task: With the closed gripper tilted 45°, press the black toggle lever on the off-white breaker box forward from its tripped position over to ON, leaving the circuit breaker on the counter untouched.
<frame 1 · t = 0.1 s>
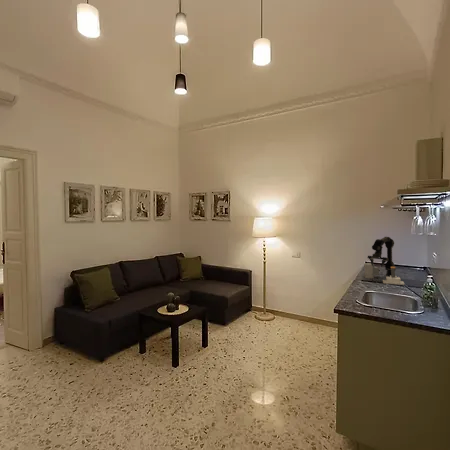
hand: (376, 266, 296), 15 cm above the worktop, tool pointing down, fingers open, 9 cm apart
lever: (393, 271, 291), point 11 cm above the worktop, hinge at -28.0°
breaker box: (393, 282, 289), on the worktop
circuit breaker: (372, 277, 313), on the worktop
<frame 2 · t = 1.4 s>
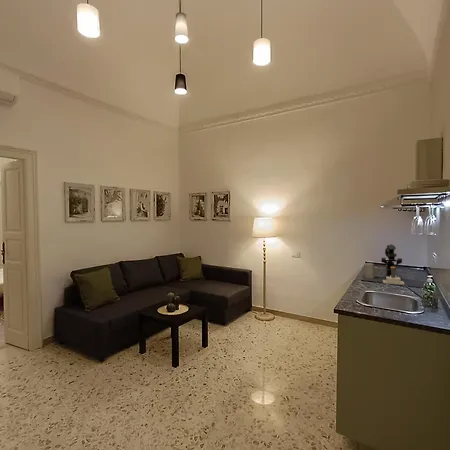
hand: (391, 267, 301), 13 cm above the worktop, tool tilted 45°, fingers open, 8 cm apart
nothing on the worktop moved.
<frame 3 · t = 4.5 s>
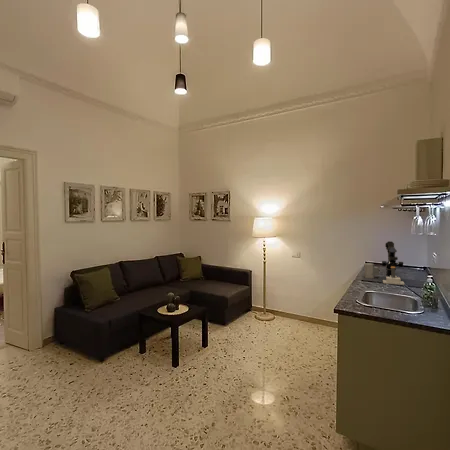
hand: (392, 270, 292), 12 cm above the worktop, tool tilted 45°, fingers closed, pressing on lever
lever: (393, 271, 291), point 11 cm above the worktop, hinge at -23.0°, touching gripper
everything else where it was.
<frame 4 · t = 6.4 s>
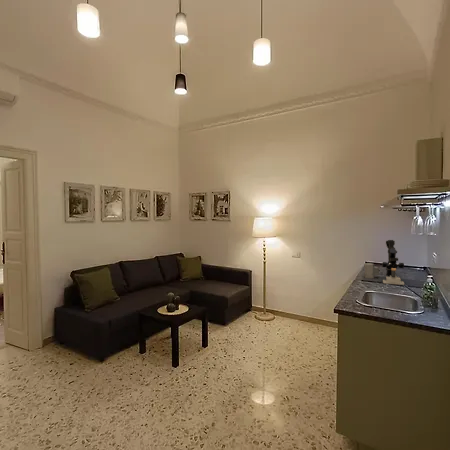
hand: (393, 272, 287), 12 cm above the worktop, tool tilted 45°, fingers closed, pressing on lever
lever: (393, 272, 286), point 11 cm above the worktop, hinge at 27.9°, touching gripper
everything else where it was.
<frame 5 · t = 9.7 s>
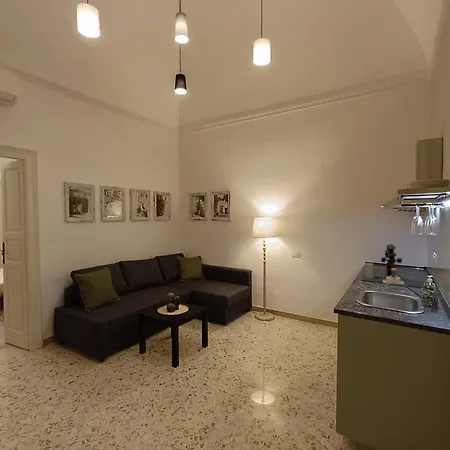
hand: (391, 266, 303), 14 cm above the worktop, tool tilted 45°, fingers closed
lever: (393, 272, 286), point 11 cm above the worktop, hinge at 28.0°
everything else where it was.
at the end: lever at +28° (first picture: -28°); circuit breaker moved 0.2 cm from its start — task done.
